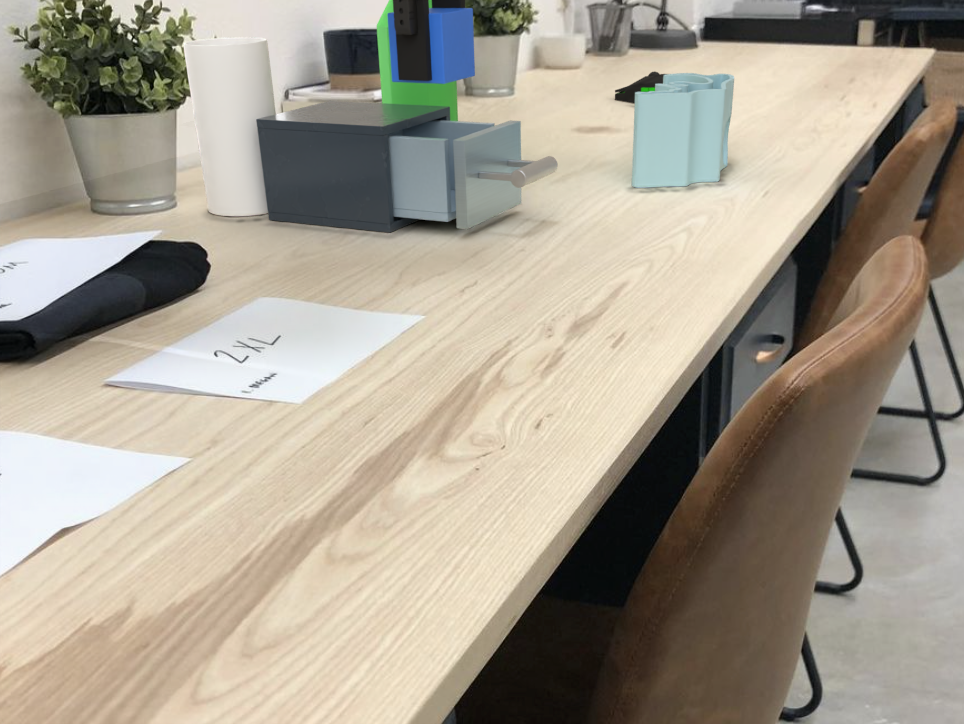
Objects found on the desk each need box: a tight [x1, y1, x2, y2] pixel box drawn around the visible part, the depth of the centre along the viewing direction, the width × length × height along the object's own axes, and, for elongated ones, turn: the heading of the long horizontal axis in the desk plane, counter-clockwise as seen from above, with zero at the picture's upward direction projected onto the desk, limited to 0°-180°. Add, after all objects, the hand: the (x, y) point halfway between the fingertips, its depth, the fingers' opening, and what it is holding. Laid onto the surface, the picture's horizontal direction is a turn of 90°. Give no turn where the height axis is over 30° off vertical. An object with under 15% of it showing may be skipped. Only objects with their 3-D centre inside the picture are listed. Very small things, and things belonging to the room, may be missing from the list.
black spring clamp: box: [614, 71, 667, 104], centre depth 174 cm, size 11×16×4 cm
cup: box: [182, 36, 277, 217], centre depth 114 cm, size 8×8×16 cm
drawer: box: [387, 119, 558, 230], centre depth 108 cm, size 18×11×8 cm, turn 62°
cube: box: [387, 7, 476, 84], centre depth 89 cm, size 5×5×5 cm
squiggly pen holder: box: [631, 72, 735, 189], centre depth 125 cm, size 18×10×9 cm, turn 167°
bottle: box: [376, 0, 459, 121], centre depth 128 cm, size 9×9×25 cm
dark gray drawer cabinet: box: [256, 100, 450, 234], centre depth 112 cm, size 15×13×10 cm
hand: (433, 74), depth 91 cm, fingers closed on cube, 5 cm apart
